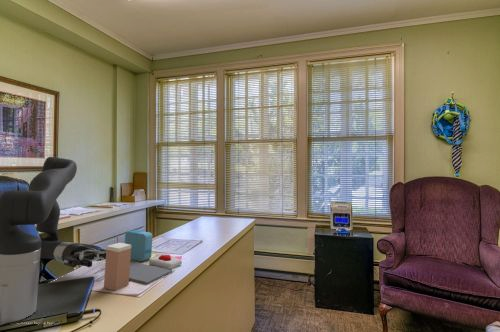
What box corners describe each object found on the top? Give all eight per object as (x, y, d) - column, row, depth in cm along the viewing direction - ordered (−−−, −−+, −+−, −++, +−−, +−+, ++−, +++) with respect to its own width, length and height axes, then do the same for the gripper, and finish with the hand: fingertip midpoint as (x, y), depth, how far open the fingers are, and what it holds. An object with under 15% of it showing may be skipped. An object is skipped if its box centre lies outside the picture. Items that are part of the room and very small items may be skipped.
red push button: (185, 254, 122) (170, 260, 113) (185, 264, 122) (169, 271, 112) (164, 250, 127) (148, 255, 118) (163, 259, 127) (147, 265, 118)
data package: (151, 259, 125) (153, 232, 125) (144, 262, 121) (145, 234, 121) (131, 255, 129) (132, 229, 130) (123, 257, 125) (125, 231, 125)
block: (115, 290, 91) (118, 248, 92) (103, 287, 93) (106, 245, 94) (128, 285, 96) (131, 244, 97) (117, 281, 98) (119, 242, 99)
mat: (147, 284, 97) (147, 282, 97) (105, 274, 105) (106, 271, 105) (172, 272, 110) (172, 270, 110) (134, 263, 118) (134, 261, 118)
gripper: (52, 247, 97) (84, 254, 91) (88, 239, 111) (119, 245, 105) (50, 268, 97) (82, 277, 91) (87, 258, 110) (117, 265, 104)
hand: (102, 260), depth 98 cm, fingers open, 8 cm apart
